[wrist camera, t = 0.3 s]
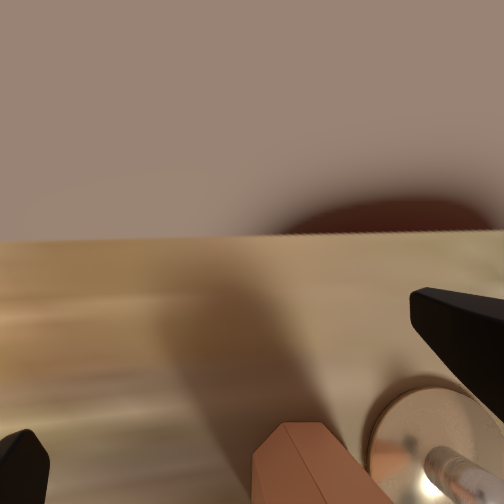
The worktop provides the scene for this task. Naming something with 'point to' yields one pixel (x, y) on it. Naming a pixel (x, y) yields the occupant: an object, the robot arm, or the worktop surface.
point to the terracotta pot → (310, 469)
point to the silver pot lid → (437, 450)
